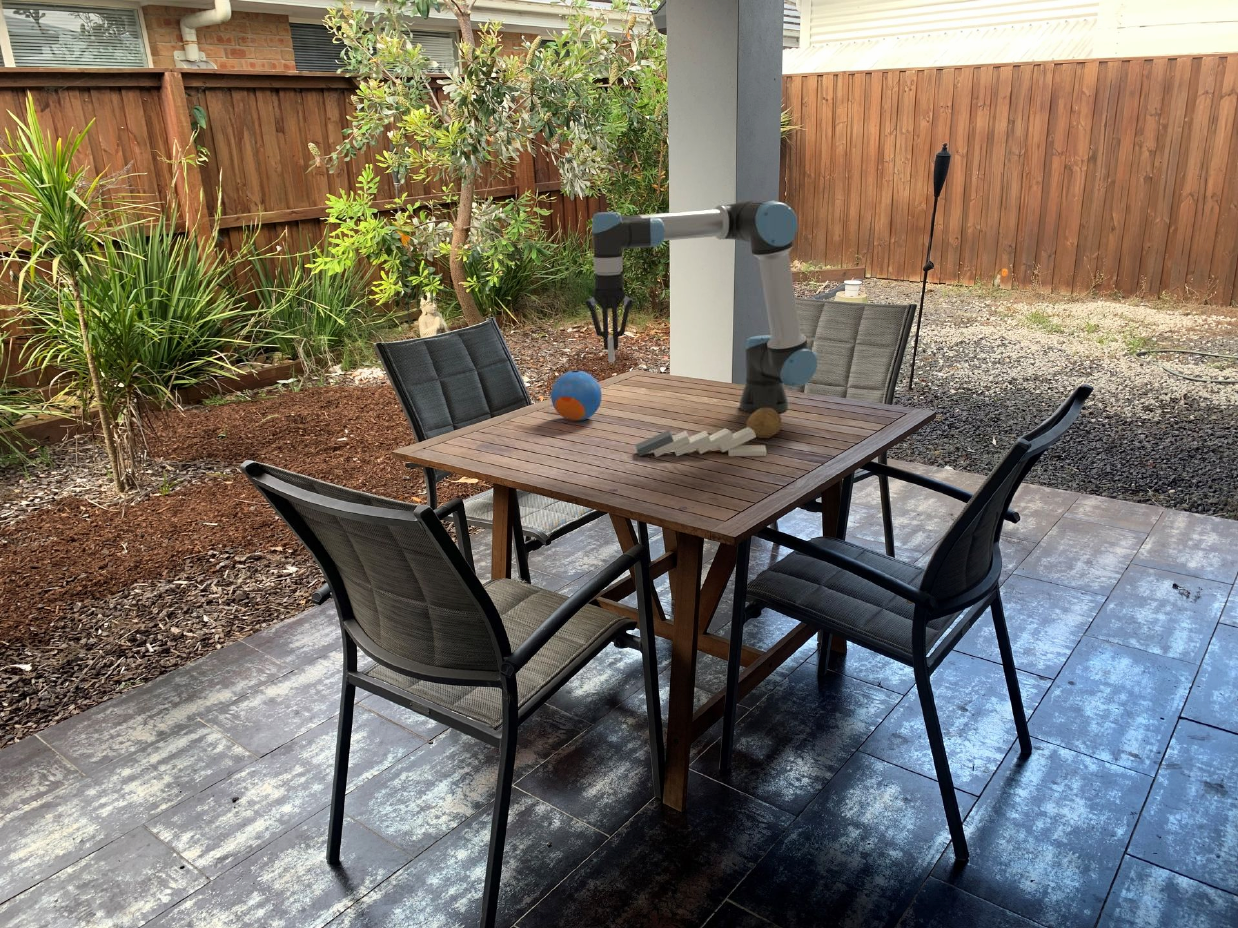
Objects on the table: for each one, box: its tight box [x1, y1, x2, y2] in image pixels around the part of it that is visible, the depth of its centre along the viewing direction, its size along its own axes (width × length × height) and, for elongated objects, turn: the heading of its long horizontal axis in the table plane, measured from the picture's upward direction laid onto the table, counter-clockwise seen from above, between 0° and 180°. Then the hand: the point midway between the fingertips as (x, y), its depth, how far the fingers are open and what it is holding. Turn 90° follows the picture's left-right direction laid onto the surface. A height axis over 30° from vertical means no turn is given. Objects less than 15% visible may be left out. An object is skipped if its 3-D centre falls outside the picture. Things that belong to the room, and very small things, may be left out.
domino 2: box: [652, 430, 690, 458], centre depth 246 cm, size 2×5×10 cm
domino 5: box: [716, 426, 757, 453], centre depth 247 cm, size 2×5×10 cm
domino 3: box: [673, 430, 711, 457], centre depth 246 cm, size 2×5×10 cm
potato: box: [745, 408, 782, 439], centre depth 258 cm, size 10×14×8 cm
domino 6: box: [727, 444, 767, 457], centre depth 246 cm, size 2×5×10 cm
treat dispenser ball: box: [550, 370, 603, 422], centre depth 280 cm, size 16×15×15 cm
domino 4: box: [694, 427, 733, 455], centre depth 247 cm, size 2×5×10 cm
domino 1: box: [635, 429, 674, 457], centre depth 246 cm, size 2×5×10 cm
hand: (611, 361), depth 247 cm, fingers closed
